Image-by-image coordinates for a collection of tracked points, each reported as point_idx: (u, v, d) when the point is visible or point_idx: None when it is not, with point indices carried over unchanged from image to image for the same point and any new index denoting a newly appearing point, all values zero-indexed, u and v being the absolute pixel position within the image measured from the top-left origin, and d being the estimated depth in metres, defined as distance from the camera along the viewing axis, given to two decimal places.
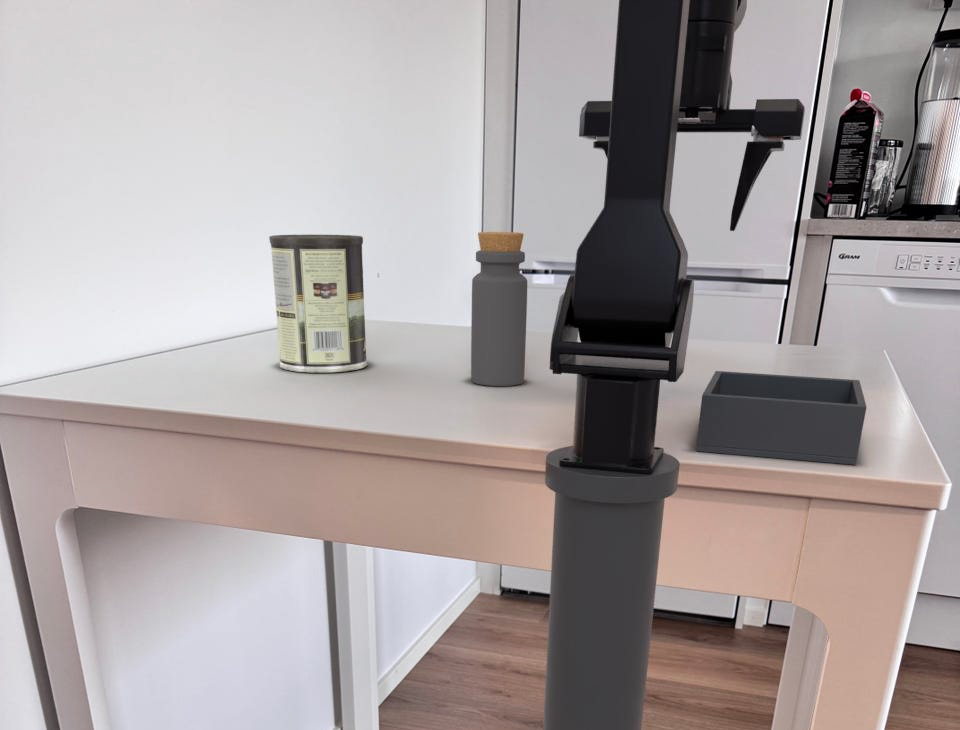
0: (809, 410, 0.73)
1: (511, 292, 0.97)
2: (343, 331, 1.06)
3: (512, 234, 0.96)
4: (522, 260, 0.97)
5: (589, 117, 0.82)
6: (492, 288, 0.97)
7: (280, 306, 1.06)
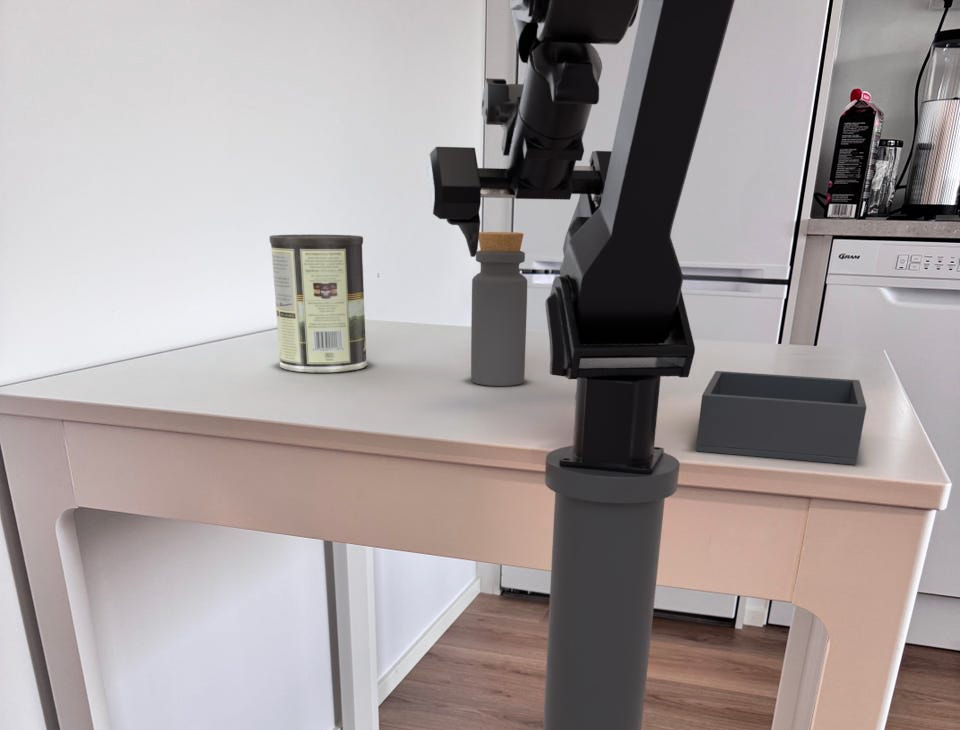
0: (809, 410, 0.73)
1: (511, 292, 0.97)
2: (343, 331, 1.06)
3: (512, 234, 0.96)
4: (522, 260, 0.97)
5: (446, 206, 0.81)
6: (492, 288, 0.97)
7: (280, 306, 1.06)
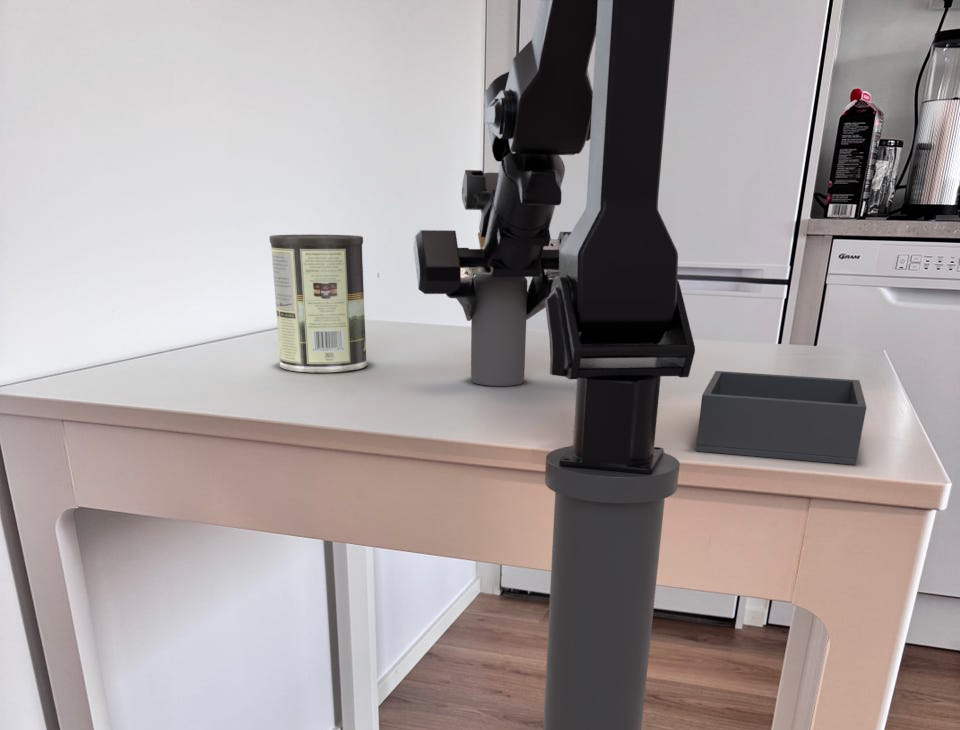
0: (809, 410, 0.73)
1: (511, 292, 0.97)
2: (343, 331, 1.06)
3: None
4: None
5: (430, 283, 0.91)
6: (492, 288, 0.97)
7: (280, 306, 1.06)
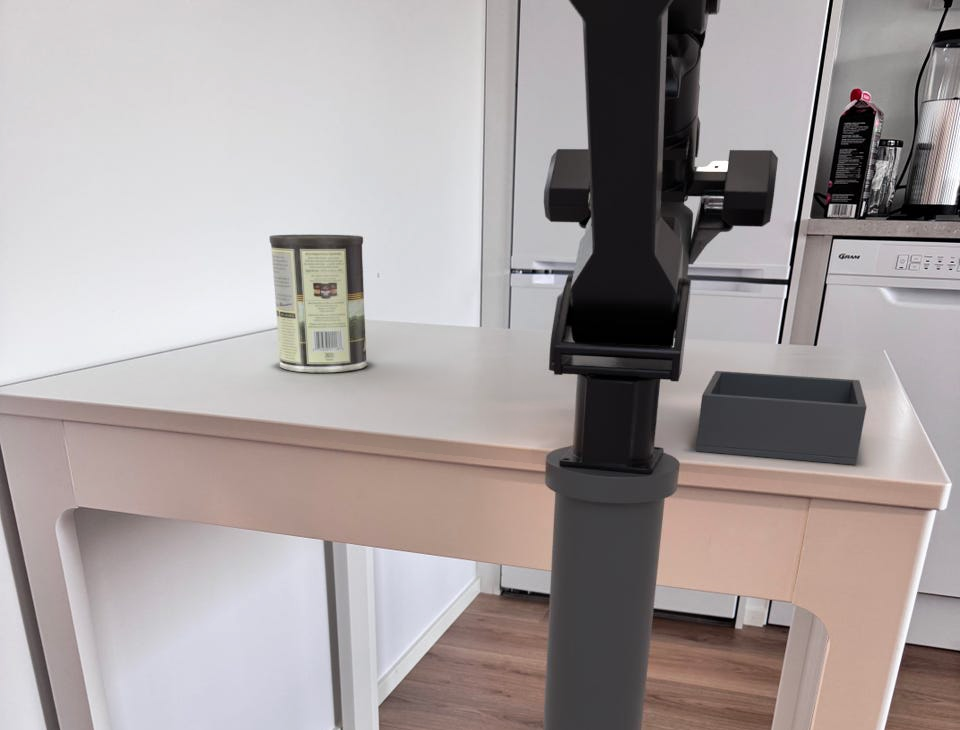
0: (809, 410, 0.73)
1: None
2: (343, 331, 1.06)
3: None
4: None
5: (554, 208, 0.80)
6: None
7: (280, 306, 1.06)
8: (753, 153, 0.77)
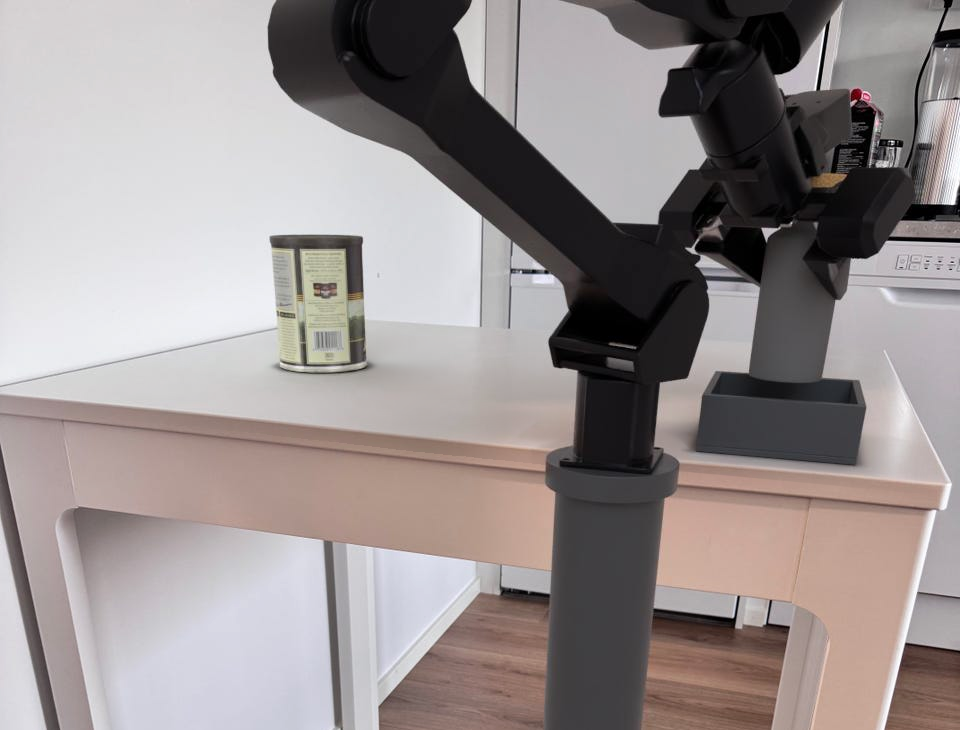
0: (809, 410, 0.73)
1: (790, 253, 0.72)
2: (343, 331, 1.06)
3: None
4: None
5: None
6: (771, 248, 0.73)
7: (280, 306, 1.06)
8: (875, 170, 0.64)
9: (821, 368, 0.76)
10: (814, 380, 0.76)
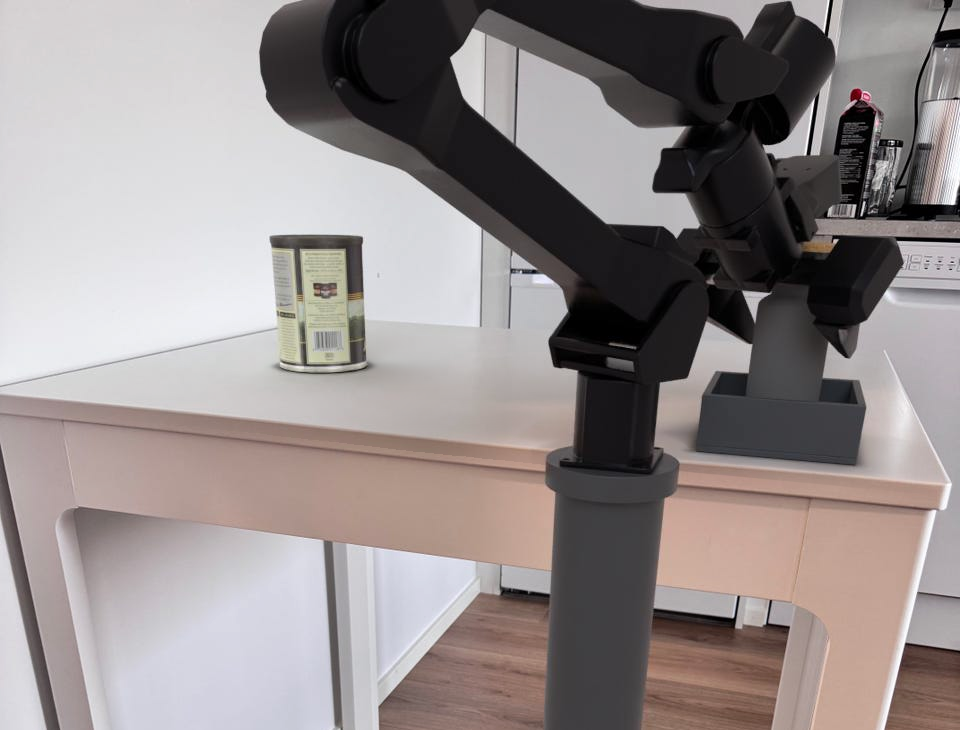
0: (809, 410, 0.73)
1: (780, 320, 0.74)
2: (343, 331, 1.06)
3: None
4: None
5: None
6: (762, 313, 0.75)
7: (280, 306, 1.06)
8: (863, 240, 0.66)
9: None
10: None
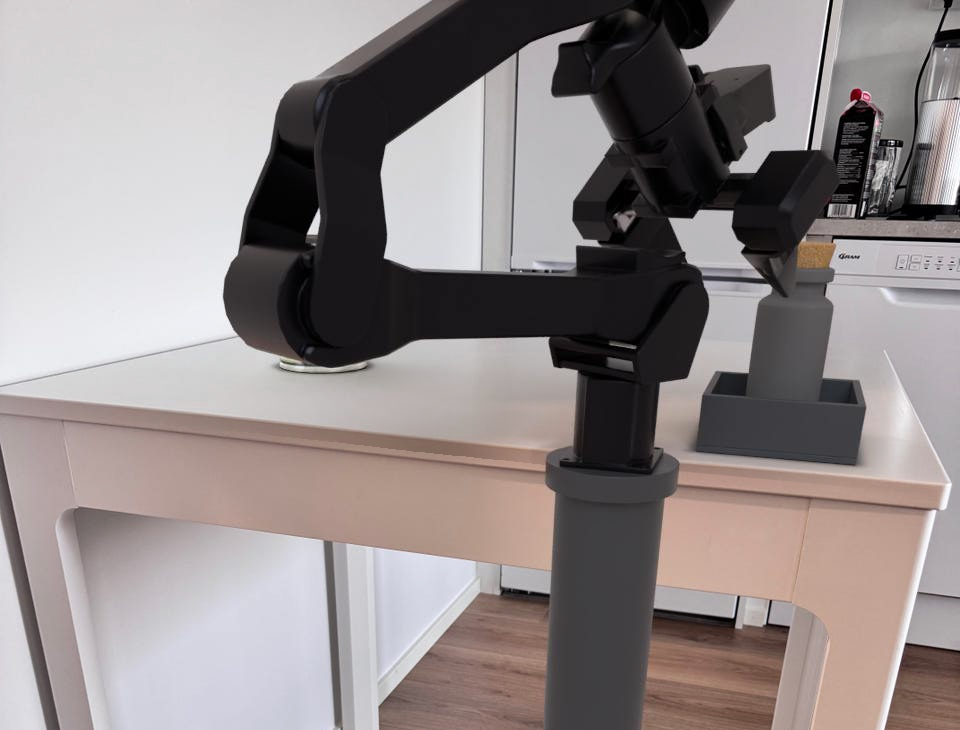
0: (809, 410, 0.73)
1: (780, 320, 0.74)
2: None
3: None
4: (810, 280, 0.72)
5: (578, 224, 0.69)
6: (762, 313, 0.75)
7: None
8: (794, 154, 0.58)
9: None
10: None
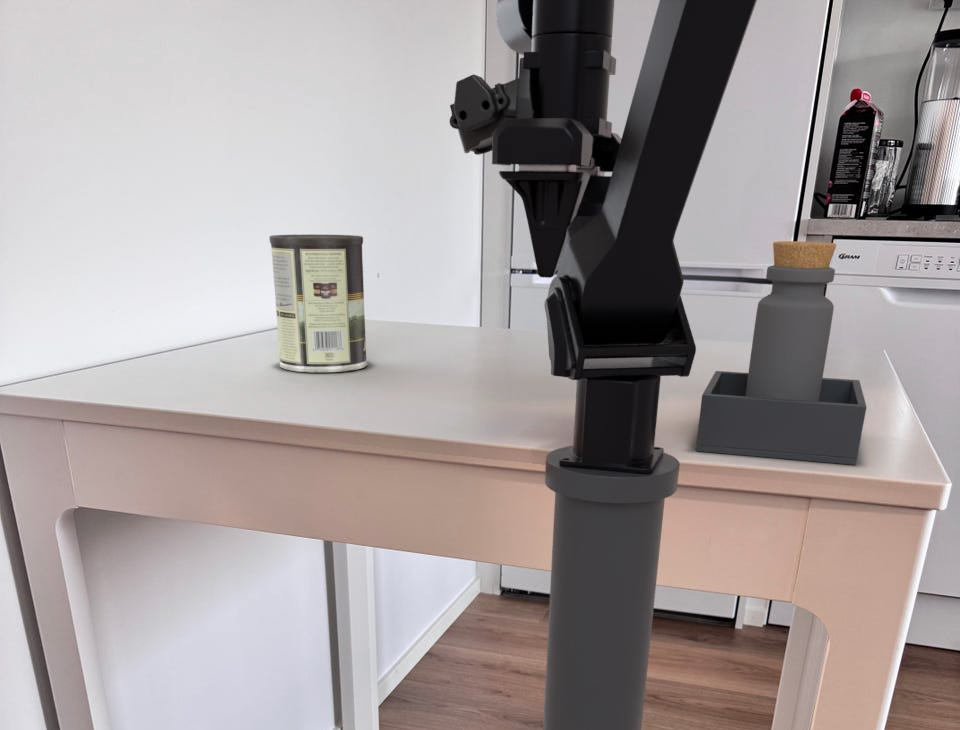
0: (809, 410, 0.73)
1: (780, 320, 0.74)
2: (343, 331, 1.06)
3: (797, 244, 0.72)
4: (810, 280, 0.72)
5: (583, 141, 0.62)
6: (762, 313, 0.75)
7: (280, 306, 1.06)
8: None
9: None
10: None
